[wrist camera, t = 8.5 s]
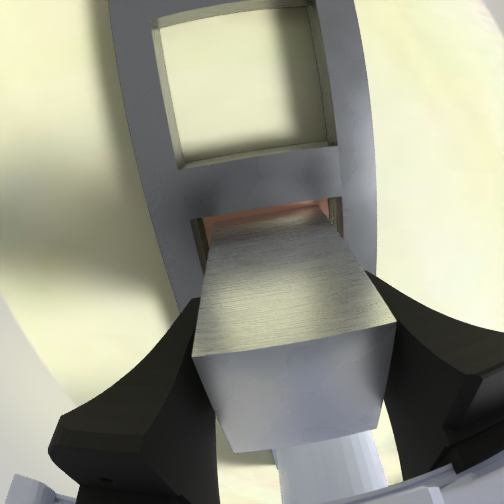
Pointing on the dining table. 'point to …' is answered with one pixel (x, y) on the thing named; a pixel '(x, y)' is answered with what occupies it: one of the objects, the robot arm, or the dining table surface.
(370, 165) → the rail
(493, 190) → the dining table surface
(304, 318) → the steel peg
